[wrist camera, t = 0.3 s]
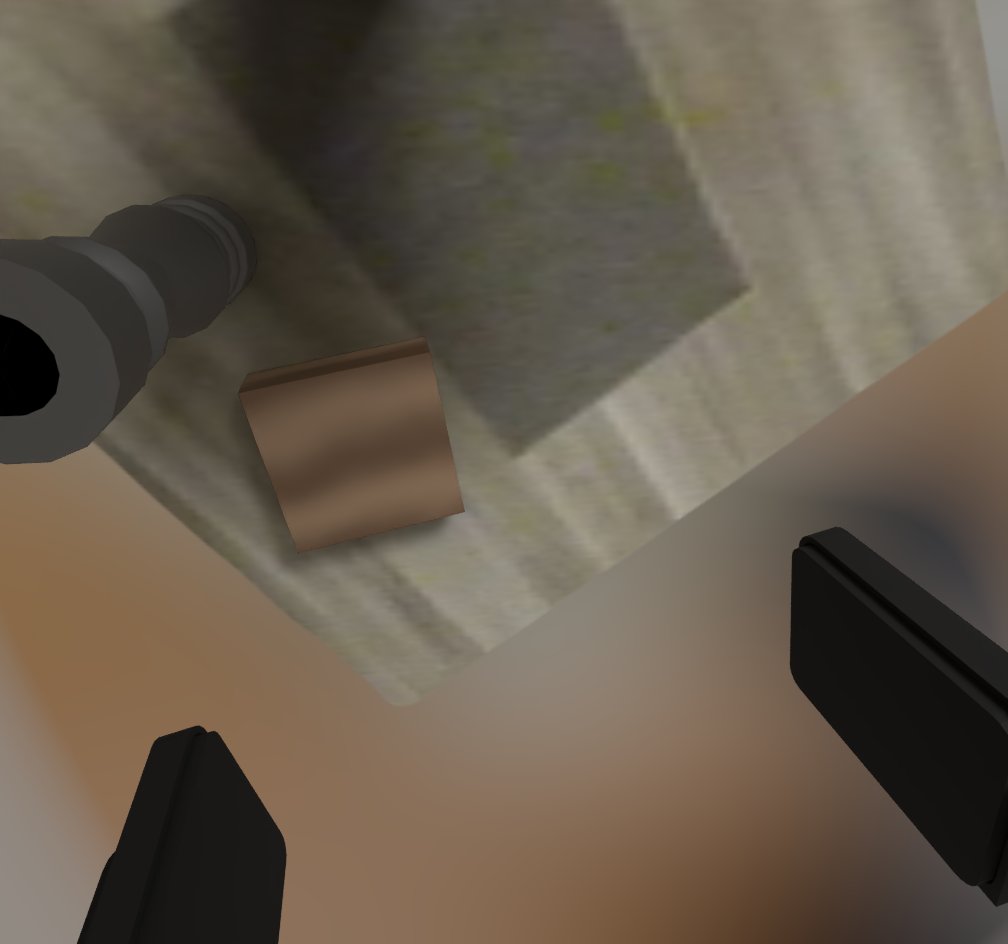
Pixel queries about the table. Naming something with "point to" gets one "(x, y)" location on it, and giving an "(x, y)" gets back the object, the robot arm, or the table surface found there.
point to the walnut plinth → (354, 443)
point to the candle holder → (106, 315)
